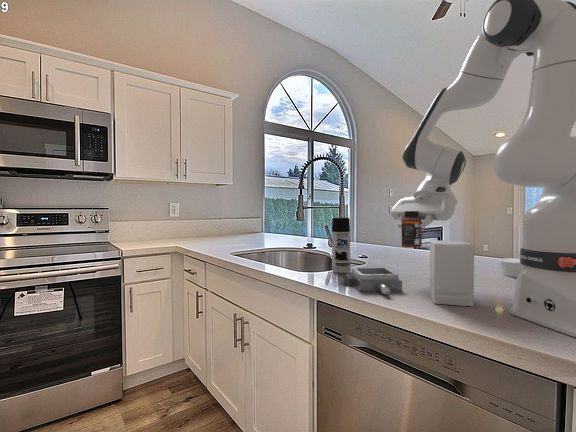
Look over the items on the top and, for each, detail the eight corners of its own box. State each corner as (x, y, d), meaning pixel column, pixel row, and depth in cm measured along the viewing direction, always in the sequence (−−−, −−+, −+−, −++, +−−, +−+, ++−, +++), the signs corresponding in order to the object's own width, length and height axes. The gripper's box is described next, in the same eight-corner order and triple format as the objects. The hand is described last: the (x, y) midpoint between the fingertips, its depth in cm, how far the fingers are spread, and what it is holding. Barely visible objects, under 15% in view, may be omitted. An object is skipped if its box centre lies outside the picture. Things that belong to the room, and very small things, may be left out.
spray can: (333, 273, 115) (333, 218, 114) (330, 270, 122) (330, 217, 121) (352, 273, 115) (352, 217, 114) (348, 269, 122) (348, 217, 121)
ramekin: (495, 276, 110) (495, 260, 110) (503, 271, 117) (503, 256, 117) (536, 281, 102) (536, 264, 101) (542, 275, 109) (542, 260, 109)
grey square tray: (409, 296, 86) (409, 279, 85) (353, 297, 85) (353, 280, 85) (385, 280, 105) (385, 266, 104) (340, 280, 104) (340, 267, 104)
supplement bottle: (423, 248, 97) (423, 211, 97) (403, 247, 99) (403, 211, 98) (419, 246, 103) (419, 210, 103) (400, 245, 104) (400, 211, 104)
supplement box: (474, 307, 76) (475, 244, 76) (433, 304, 79) (433, 243, 78) (466, 297, 85) (466, 240, 84) (429, 294, 87) (429, 239, 87)
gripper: (397, 191, 113) (379, 220, 108) (454, 187, 96) (435, 221, 91) (405, 204, 116) (388, 232, 110) (462, 202, 99) (445, 236, 93)
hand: (410, 227), depth 101 cm, fingers closed on supplement bottle, 6 cm apart
